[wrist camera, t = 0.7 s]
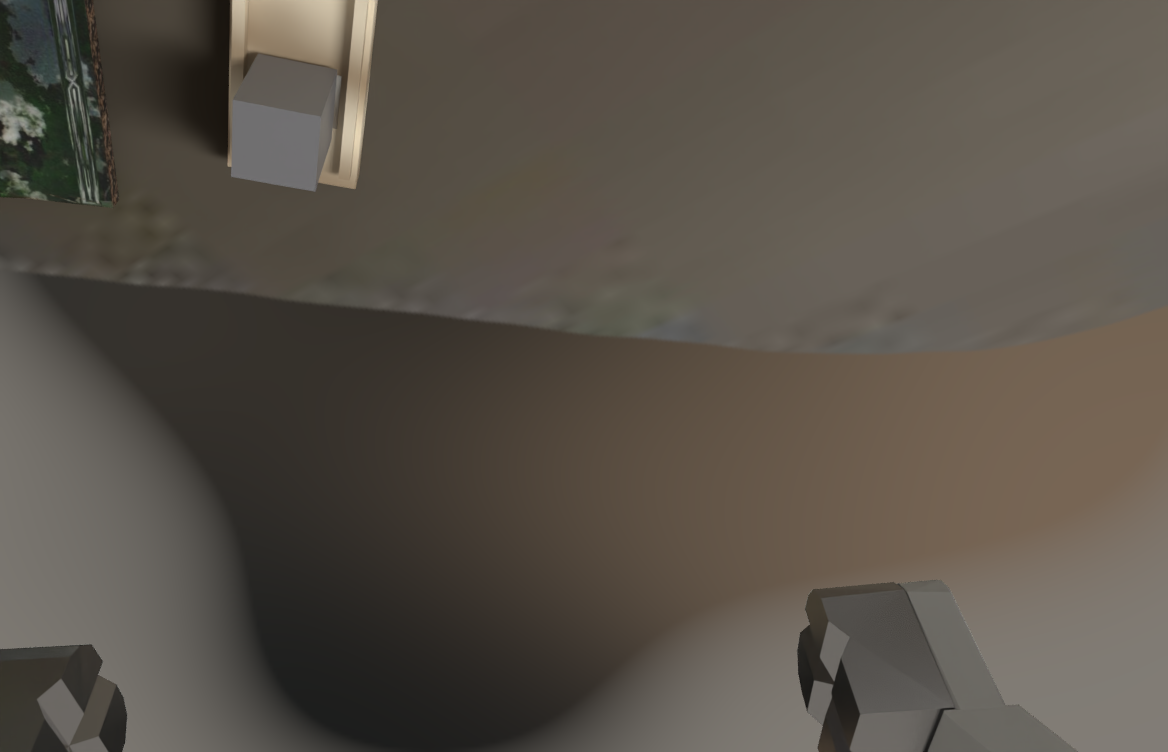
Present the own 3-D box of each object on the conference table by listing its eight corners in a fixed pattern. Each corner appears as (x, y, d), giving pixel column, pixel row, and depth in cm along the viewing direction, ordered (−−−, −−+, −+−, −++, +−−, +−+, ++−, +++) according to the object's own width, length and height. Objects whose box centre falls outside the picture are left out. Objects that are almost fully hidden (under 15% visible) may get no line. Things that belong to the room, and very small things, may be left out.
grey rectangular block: (257, 53, 48) (232, 99, 44) (337, 69, 49) (321, 116, 44) (255, 125, 51) (231, 176, 46) (331, 139, 51) (315, 191, 47)
